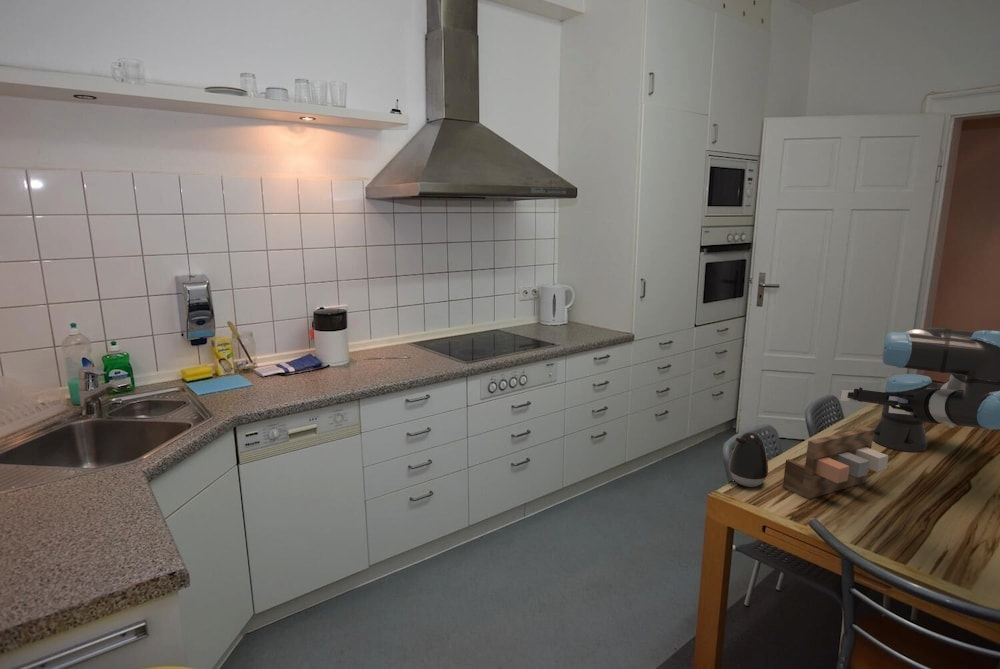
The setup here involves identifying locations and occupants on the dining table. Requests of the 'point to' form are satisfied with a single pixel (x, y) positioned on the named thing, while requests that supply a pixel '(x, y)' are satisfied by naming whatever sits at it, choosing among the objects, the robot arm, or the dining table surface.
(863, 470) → the key slate
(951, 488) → the dining table surface
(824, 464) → the key terracotta
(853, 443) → the key board
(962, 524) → the dining table surface
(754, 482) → the black penguin figurine
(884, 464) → the key ivory
